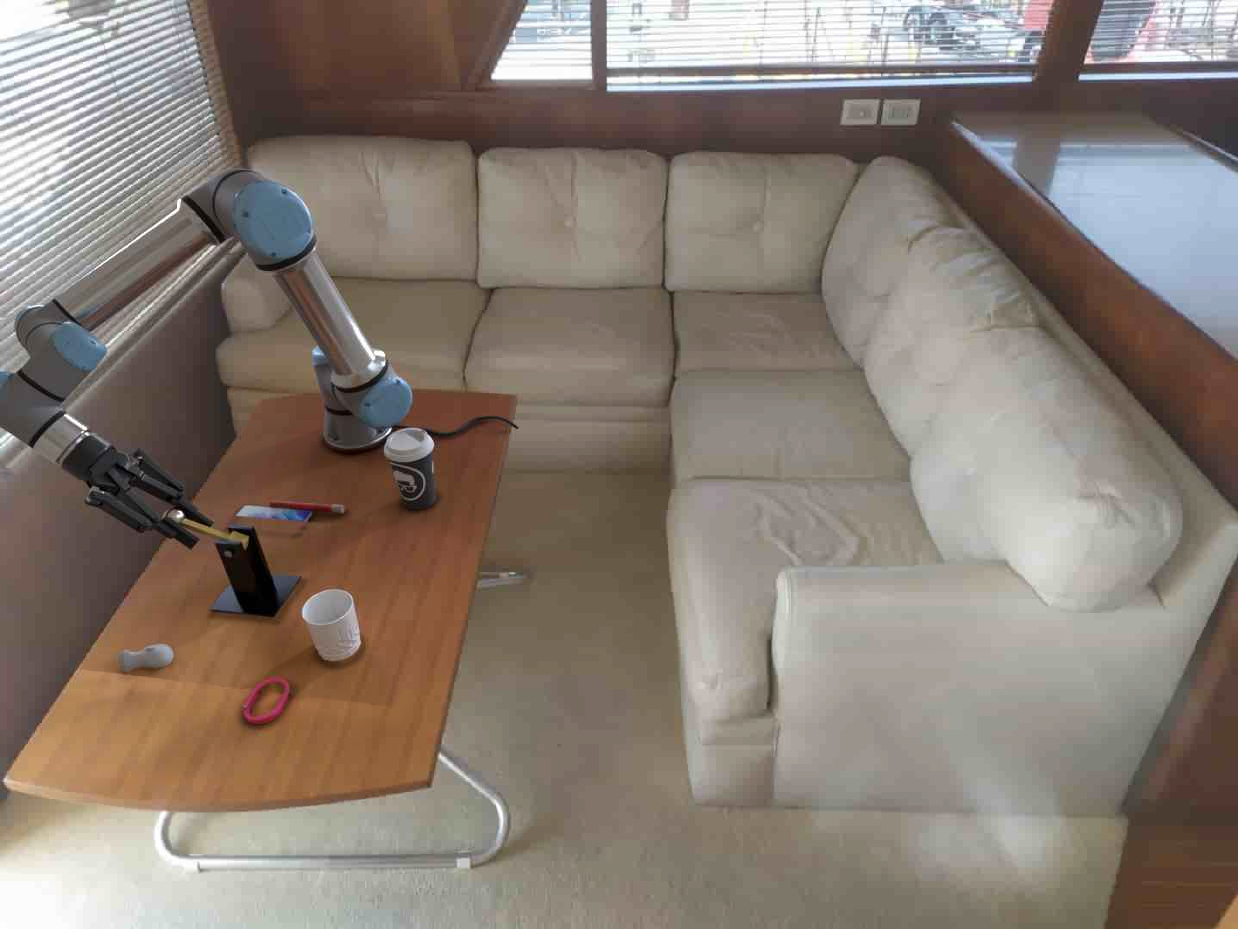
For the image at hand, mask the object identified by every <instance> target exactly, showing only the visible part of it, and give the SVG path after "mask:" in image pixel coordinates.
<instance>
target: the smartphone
mask: <svg viewBox="0 0 1238 929" xmlns="http://www.w3.org/2000/svg"><path fill="white" fill-rule="evenodd" d="M312 515H313V511H311V510H300V509H285V508H271V507H270V506H265V505H255V504H253V505H251V504H244V505H242V507H241V508H240V509H238V511H237V512H236V513H235V515H234V517H235V516H236V517H246V518H247V517H248V518H257V519H270V520H280V521H294V522H304V523H308V521H309V520H310V518H311V517H312Z"/></svg>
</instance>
